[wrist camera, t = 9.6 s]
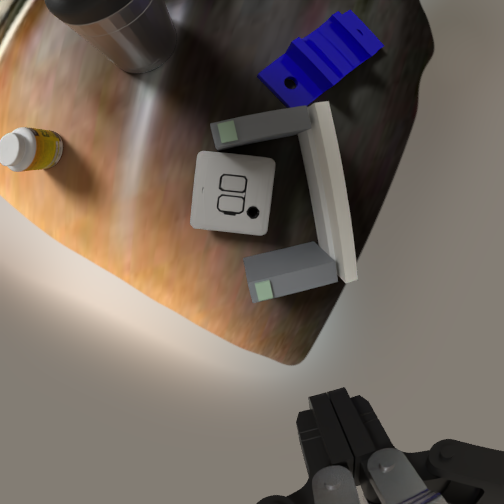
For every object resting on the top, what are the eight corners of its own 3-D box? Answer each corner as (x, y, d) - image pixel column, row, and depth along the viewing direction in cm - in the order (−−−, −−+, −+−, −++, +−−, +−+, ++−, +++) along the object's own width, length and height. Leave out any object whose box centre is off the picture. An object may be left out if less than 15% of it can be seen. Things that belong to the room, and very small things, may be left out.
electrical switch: (268, 237, 37) (189, 230, 35) (258, 230, 42) (188, 224, 40) (279, 158, 35) (199, 148, 33) (267, 160, 40) (196, 151, 38)
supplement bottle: (68, 133, 35) (28, 128, 25) (59, 172, 36) (18, 177, 27) (40, 128, 34) (-2, 123, 24) (31, 165, 36) (-11, 169, 26)
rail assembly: (213, 132, 37) (209, 122, 28) (304, 115, 37) (328, 101, 28) (247, 275, 43) (253, 307, 33) (330, 254, 43) (358, 280, 33)
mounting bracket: (293, 116, 38) (305, 109, 32) (256, 77, 36) (261, 64, 30) (378, 49, 35) (398, 37, 30) (345, 14, 34) (361, -3, 28)
